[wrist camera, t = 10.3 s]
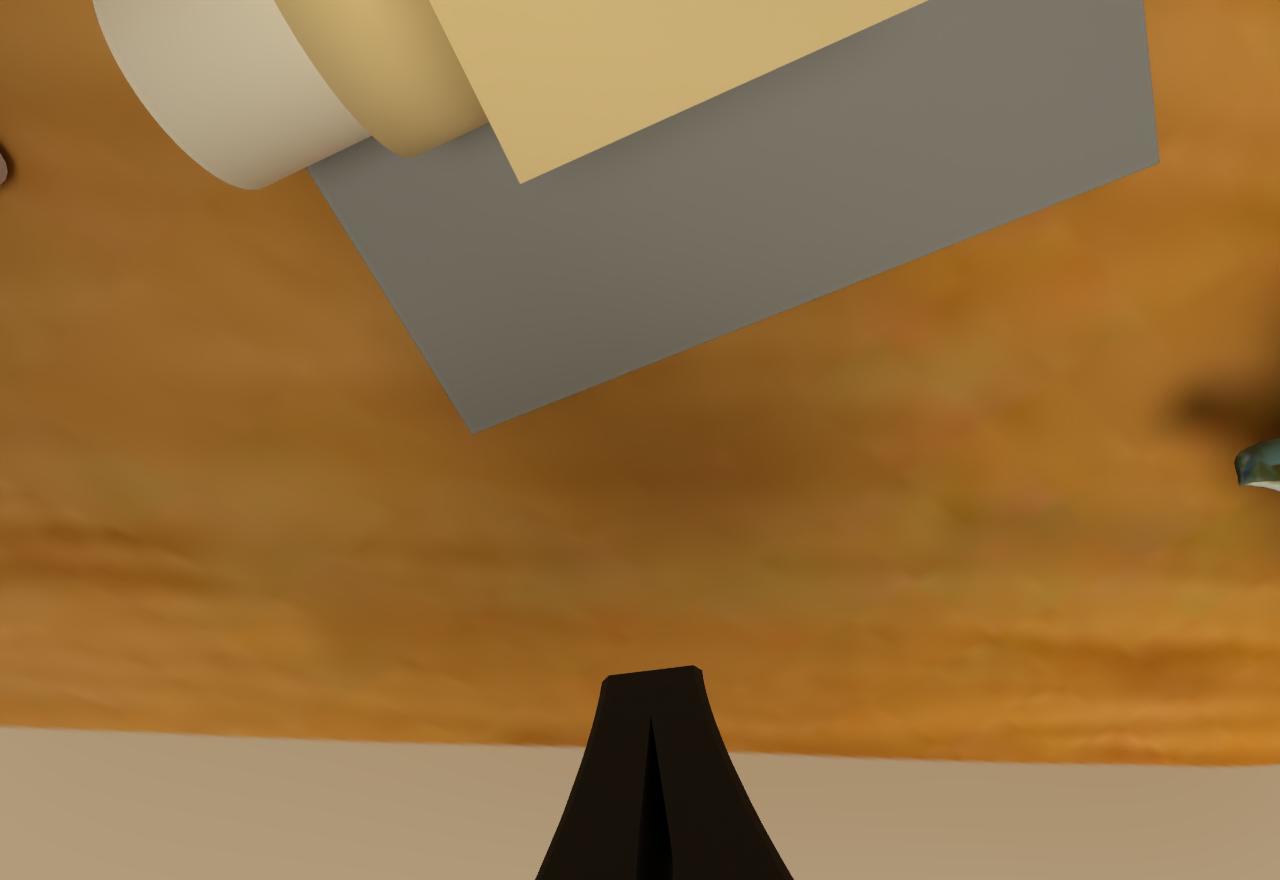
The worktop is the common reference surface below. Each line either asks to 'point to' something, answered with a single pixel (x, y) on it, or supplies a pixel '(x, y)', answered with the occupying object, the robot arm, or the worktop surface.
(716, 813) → the robot arm
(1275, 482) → the passion flower
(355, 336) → the worktop surface
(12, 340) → the worktop surface
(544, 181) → the valve board
